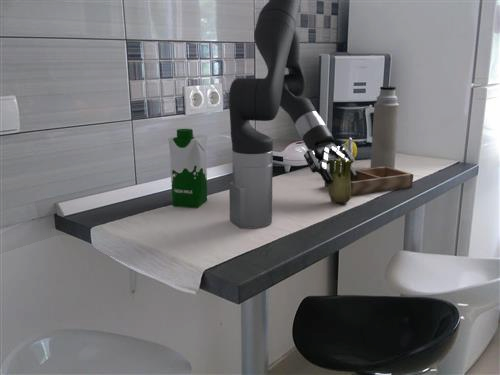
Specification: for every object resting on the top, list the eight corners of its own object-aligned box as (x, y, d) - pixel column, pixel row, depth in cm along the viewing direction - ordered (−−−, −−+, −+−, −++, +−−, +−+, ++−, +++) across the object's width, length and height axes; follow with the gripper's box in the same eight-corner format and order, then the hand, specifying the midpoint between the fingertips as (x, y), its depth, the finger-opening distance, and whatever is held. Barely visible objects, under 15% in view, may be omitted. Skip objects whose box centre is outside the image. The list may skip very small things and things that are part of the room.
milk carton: (168, 207, 129) (164, 130, 124) (181, 197, 138) (179, 125, 133) (199, 209, 127) (197, 131, 122) (211, 200, 135) (210, 126, 130)
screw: (351, 180, 156) (337, 177, 159) (359, 177, 160) (345, 175, 163) (353, 139, 153) (339, 137, 156) (361, 137, 156) (347, 135, 159)
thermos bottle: (374, 166, 175) (379, 85, 168) (397, 168, 171) (403, 86, 164) (366, 170, 169) (372, 86, 161) (390, 173, 165) (396, 87, 157)
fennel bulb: (325, 201, 134) (327, 157, 131) (338, 198, 137) (340, 155, 134) (340, 206, 129) (342, 161, 126) (353, 203, 132) (356, 159, 129)
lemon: (355, 160, 185) (356, 138, 183) (357, 163, 180) (358, 141, 178) (340, 159, 186) (341, 138, 184) (341, 163, 181) (342, 141, 178)
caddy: (349, 197, 138) (350, 183, 137) (324, 186, 148) (325, 173, 147) (412, 187, 148) (413, 174, 147) (384, 178, 158) (385, 166, 157)
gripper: (301, 125, 130) (331, 176, 124) (339, 121, 138) (369, 169, 132) (287, 143, 135) (315, 192, 129) (325, 137, 144) (353, 184, 138)
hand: (342, 180), depth 131 cm, fingers open, 8 cm apart
